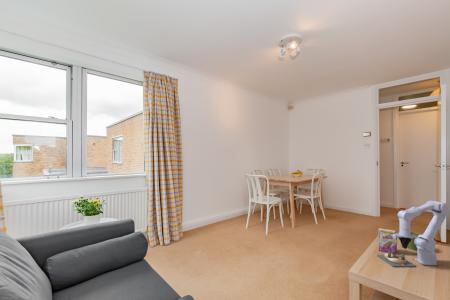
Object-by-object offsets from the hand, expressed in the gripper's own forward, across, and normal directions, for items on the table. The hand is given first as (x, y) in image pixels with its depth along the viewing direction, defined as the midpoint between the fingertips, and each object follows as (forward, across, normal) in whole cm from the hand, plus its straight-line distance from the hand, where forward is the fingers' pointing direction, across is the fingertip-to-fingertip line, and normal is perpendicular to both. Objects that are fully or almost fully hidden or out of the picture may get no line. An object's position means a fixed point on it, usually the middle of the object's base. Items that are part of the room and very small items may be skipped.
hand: (404, 248), depth 146 cm
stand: (+10, +4, -3) cm, 12 cm away
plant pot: (+10, -25, -22) cm, 35 cm away
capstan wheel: (+9, +4, -3) cm, 10 cm away
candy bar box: (+11, -1, -17) cm, 20 cm away
